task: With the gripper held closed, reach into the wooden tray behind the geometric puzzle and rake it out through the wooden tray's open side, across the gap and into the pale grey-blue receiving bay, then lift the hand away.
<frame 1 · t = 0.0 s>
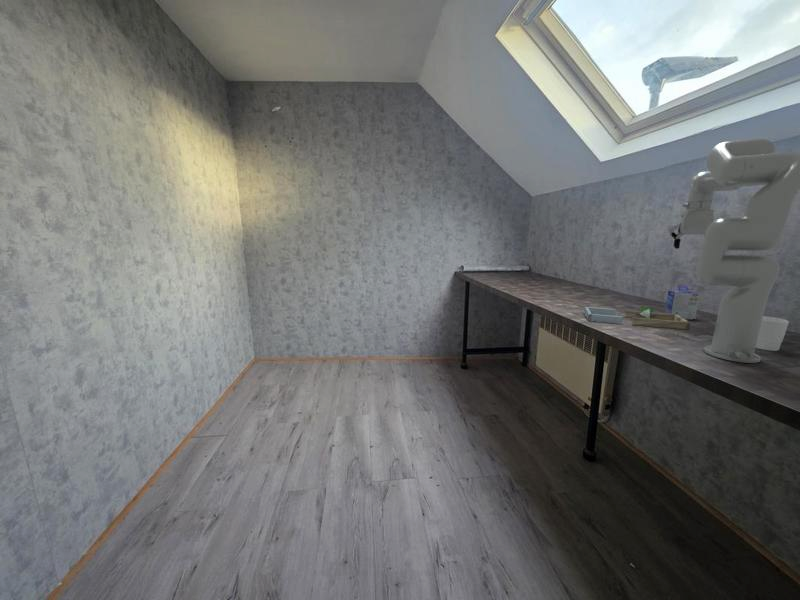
hand: (691, 248, 136), 31 cm above the table, tool pointing down, fingers open, 9 cm apart
geometric puzzle: (644, 322, 140), on the table
white cup: (763, 348, 109), on the table
ink cartridge box: (679, 318, 146), on the table
wooden tray: (650, 322, 139), on the table
bay: (602, 318, 146), on the table
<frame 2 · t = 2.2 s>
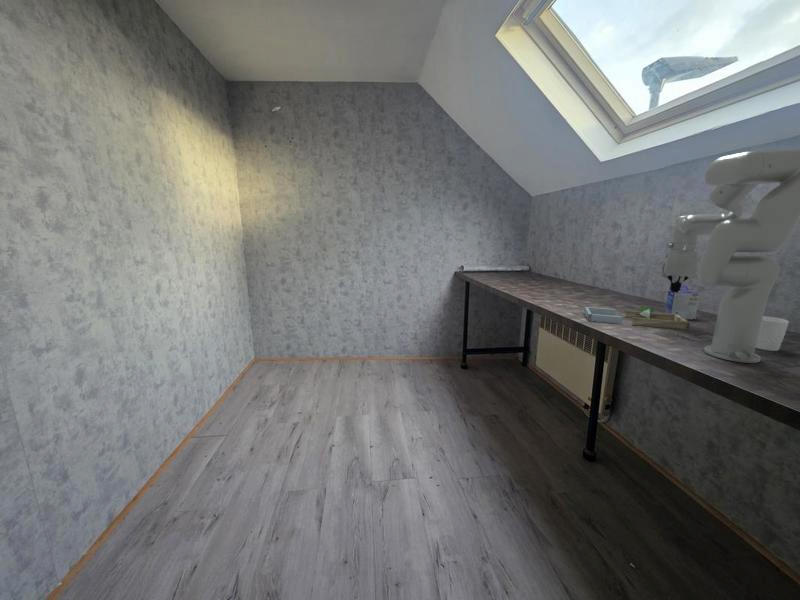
hand: (674, 291, 134), 14 cm above the table, tool pointing down, fingers closed
nothing on the table moved.
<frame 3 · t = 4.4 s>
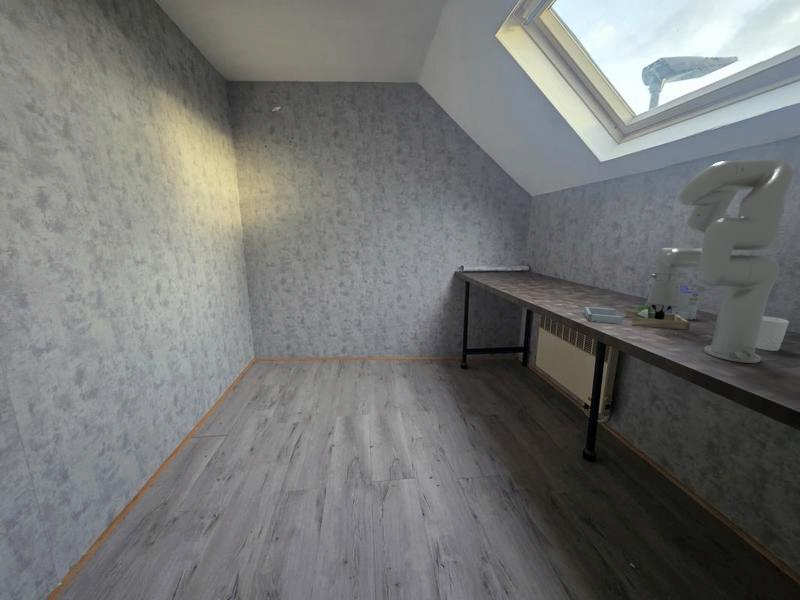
hand: (658, 320, 138), 1 cm above the table, tool pointing down, fingers closed
geometric puzzle: (643, 322, 140), on the table, touching gripper
everything else where it was.
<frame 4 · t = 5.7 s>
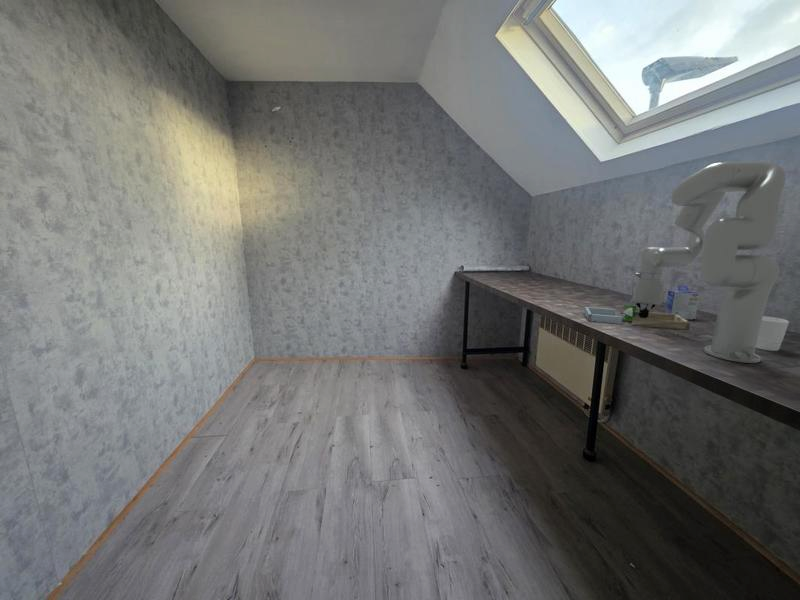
hand: (642, 318, 140), 1 cm above the table, tool pointing down, fingers closed
geometric puzzle: (629, 320, 142), on the table, touching gripper
everything else where it was.
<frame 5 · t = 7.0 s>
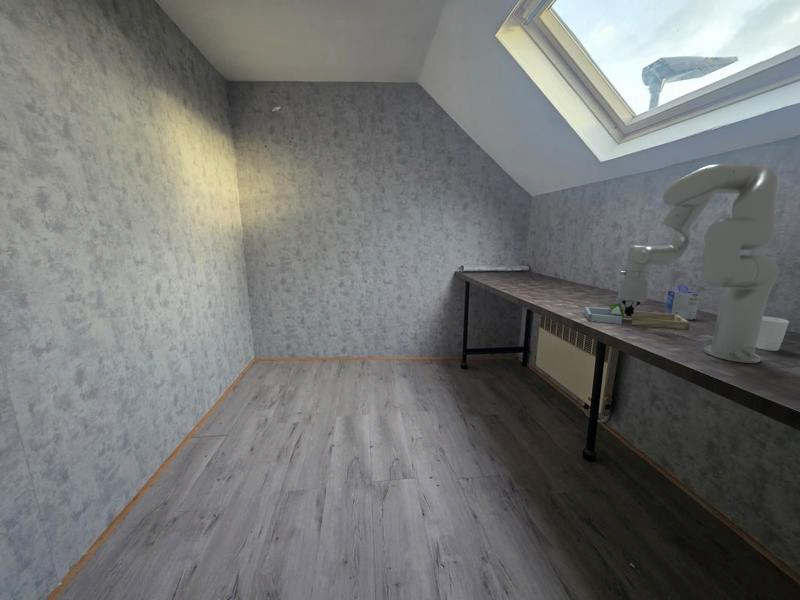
hand: (628, 315, 143), 2 cm above the table, tool pointing down, fingers closed
geometric puzzle: (618, 318, 144), on the table, touching gripper
everything else where it was.
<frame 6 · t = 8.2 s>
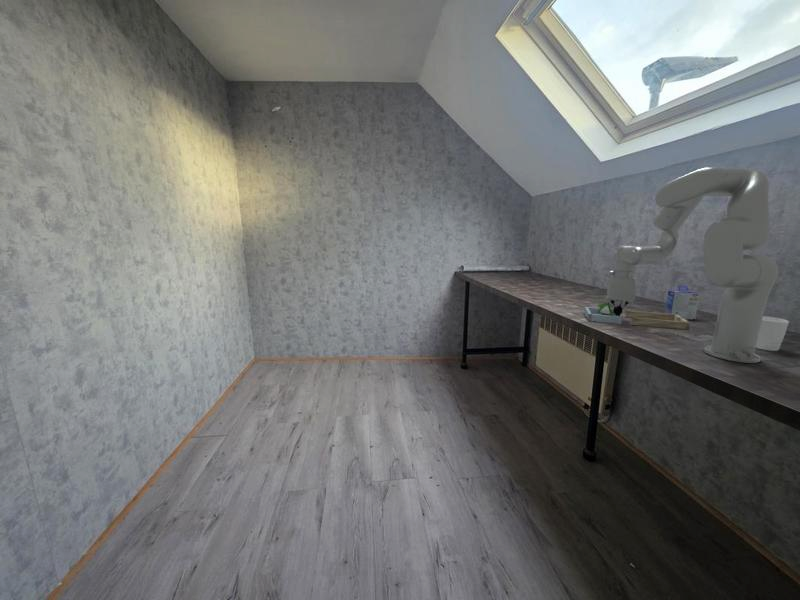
hand: (617, 315, 144), 2 cm above the table, tool pointing down, fingers closed
geometric puzzle: (607, 318, 145), on the table, touching gripper
everything else where it was.
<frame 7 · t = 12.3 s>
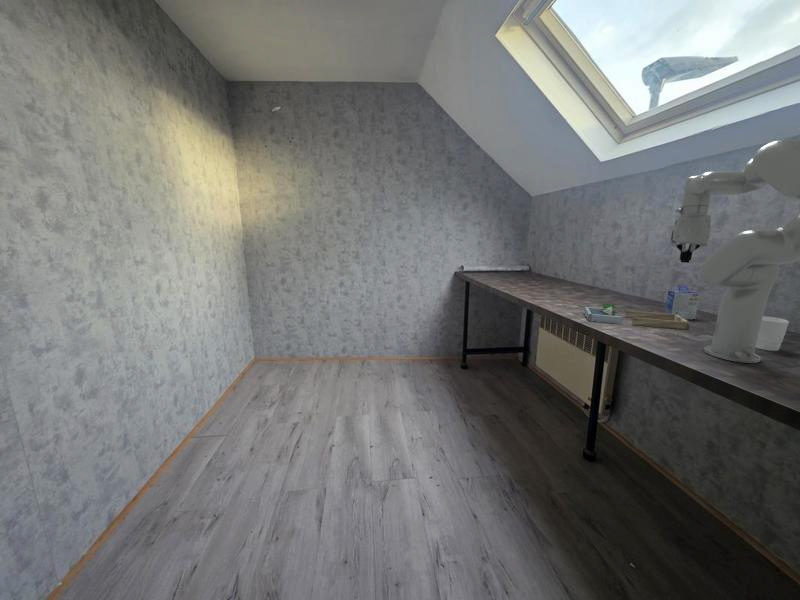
hand: (684, 262, 121), 27 cm above the table, tool pointing down, fingers closed
geometric puzzle: (607, 319, 145), on the table
everything else where it was.
at the end: geometric puzzle inside the target area (2.5 cm from its centre), on the table; geometric puzzle tilted 0° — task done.
